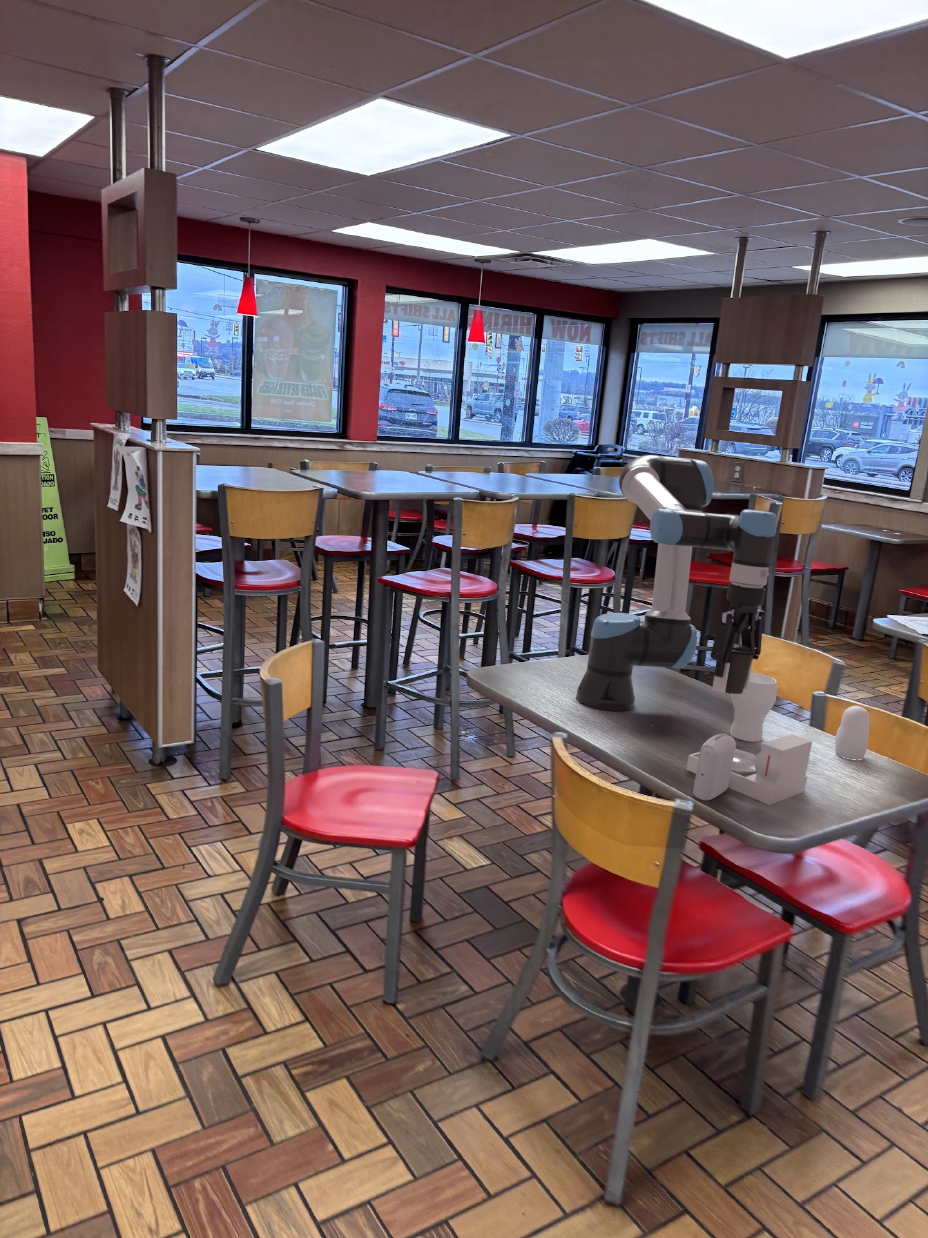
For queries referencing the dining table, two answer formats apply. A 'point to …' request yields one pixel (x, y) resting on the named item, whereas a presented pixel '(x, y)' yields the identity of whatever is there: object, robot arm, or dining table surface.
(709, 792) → the photo printer
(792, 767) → the base
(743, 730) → the cup
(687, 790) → the dining table surface
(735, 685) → the coffee cup
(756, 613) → the robot arm
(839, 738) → the figurine
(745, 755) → the pan
